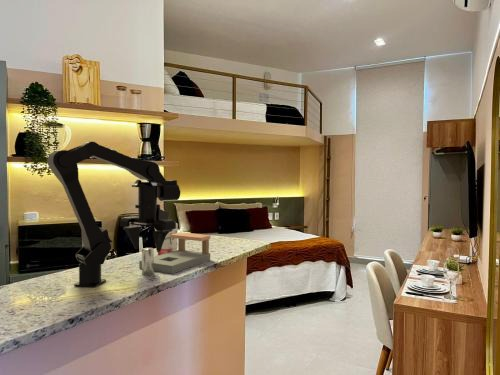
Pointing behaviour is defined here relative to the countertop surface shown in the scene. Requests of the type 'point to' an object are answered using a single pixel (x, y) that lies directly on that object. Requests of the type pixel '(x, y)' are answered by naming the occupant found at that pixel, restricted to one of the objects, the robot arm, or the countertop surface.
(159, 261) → the socket board
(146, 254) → the peg
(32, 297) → the countertop surface
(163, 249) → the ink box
